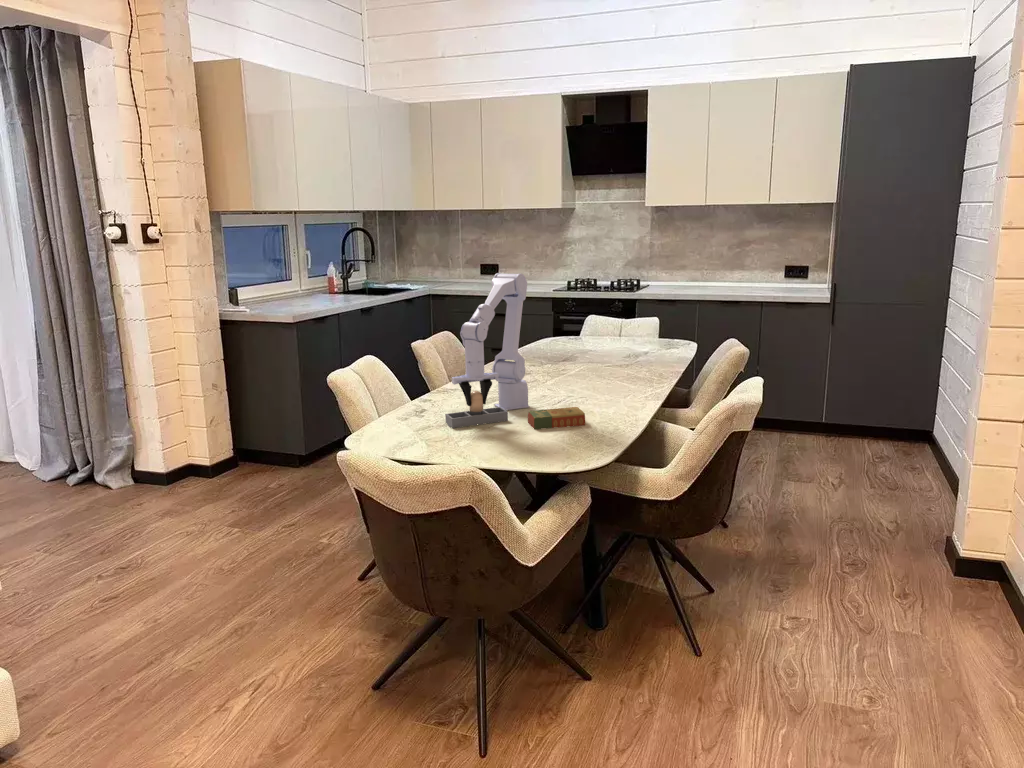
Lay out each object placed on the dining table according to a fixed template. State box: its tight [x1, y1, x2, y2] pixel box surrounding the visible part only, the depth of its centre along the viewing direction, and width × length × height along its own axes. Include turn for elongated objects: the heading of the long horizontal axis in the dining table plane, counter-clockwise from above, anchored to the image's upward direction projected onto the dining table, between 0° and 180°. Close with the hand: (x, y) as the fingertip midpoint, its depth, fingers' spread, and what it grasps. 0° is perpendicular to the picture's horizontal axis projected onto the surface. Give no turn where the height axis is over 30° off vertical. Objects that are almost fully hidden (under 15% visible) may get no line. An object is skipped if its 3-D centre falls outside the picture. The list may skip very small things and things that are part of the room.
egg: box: [469, 390, 484, 412], centre depth 230 cm, size 4×4×6 cm
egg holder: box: [445, 406, 509, 429], centre depth 231 cm, size 18×6×3 cm, turn 113°
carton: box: [527, 406, 586, 430], centre depth 228 cm, size 8×16×4 cm, turn 102°
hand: (476, 404), depth 230 cm, fingers closed on egg, 4 cm apart
